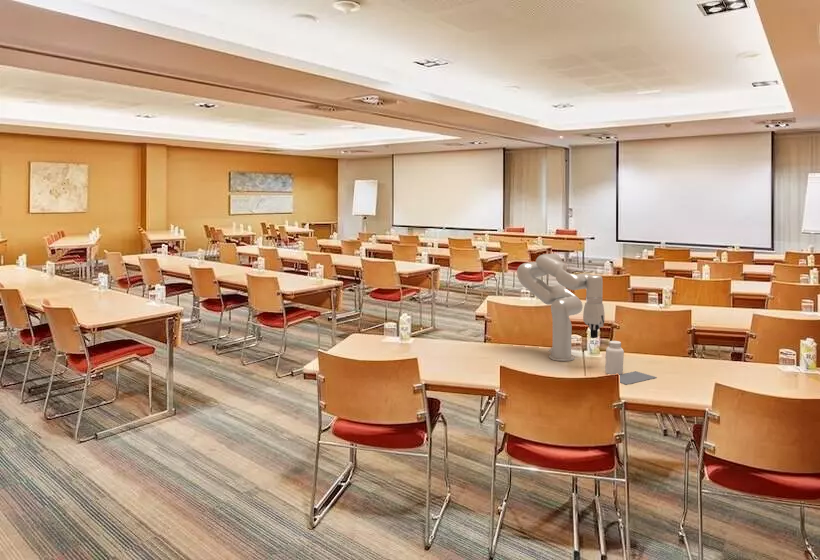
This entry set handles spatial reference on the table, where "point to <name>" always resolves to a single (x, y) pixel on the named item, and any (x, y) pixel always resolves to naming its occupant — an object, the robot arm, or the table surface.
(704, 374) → the table surface
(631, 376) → the mat
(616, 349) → the pill bottle
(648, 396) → the table surface
